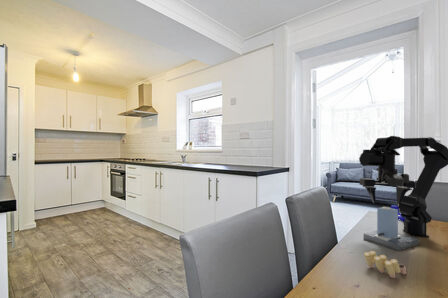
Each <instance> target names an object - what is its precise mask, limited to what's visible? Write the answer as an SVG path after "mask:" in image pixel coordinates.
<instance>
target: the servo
mask: <svg viewBox="0 0 448 298" xmlns="http://www.w3.org/2000/svg"><path fill="white" fill-rule="evenodd" d="M376 215H377V216H376V217H377V222H376V224H377V227H376V228H377V230H376V231H377V235H374V237H377V238H380V239H383V240H386V241H394V240H397V239H398V238H400V237H401V236H400V235H398V233H399V220H398V210H397V209H393V208H391V207H390V206H382V207H377V213H376Z"/></svg>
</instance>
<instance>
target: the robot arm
mask: <svg viewBox="0 0 448 298" xmlns="http://www.w3.org/2000/svg"><path fill="white" fill-rule="evenodd" d="M404 147H405V148H406V147H410V148H411V147H418V148H419V150H420V154H422V155H423V159H422V160H423V162H424V163H423V164H424V167H423V169H422V170H421V172H420V174H419V176H418V178H417V181H416V182H415V181H414V180H410V175H409V174H408V173H401V174H399V173H398V169H397V168H396V156H400V155H401V153H399V152H398V151H397V150H399V149H401V148H404ZM428 147H429V148H428ZM358 158H359V160H358V161H359V164H360V165H361V166H363V167H376V171H377V177H376V179H374V178H365V177H363V178H362V177H360V179H359V185H360V186H362V187H363V188H365V190H366V191H367V193H368V194H369V197H370V199H371V201H372V203H373V204H376V191H377V187H376V185H377V186H391V187H395V189H396V190H395V191H396V194H395V195H396V203H397V206H398V208H399V212H400V214H401V216H402V217H405V221H404V222H403V229H402V231H403V232H404V233H405V234H406V235H408V236H411V237H421V238H430V235H429V234H427V224H428V223H431V221H432V216H431V215H430V214H429V213H428V212H427V208H428V207H427V202H426V199H427V196H428V194H429V193H430V190H431V188H432V187H433V185H434V182H435V180H436V178H437V177H438V174H439V172H440V170H442V169H444V168H445V167H447V166H448V147H447V146H446V145H444V144H442V143H440V142H438V141H437V140H436V139H435V138H434V137H430V136H425V137H423V136H422V137H400V136H395V135H388V136H387V135H386V136H385V135H384V136H378V137H377V138H376V140H375V142H374V144H373V145H372V146H371V148H370V149H363V150H362V153H360V155H359V157H358ZM409 191H411V192H410V194H408V195H406V194H407V193H408V192H409Z"/></svg>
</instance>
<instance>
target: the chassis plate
mask: <svg viewBox="0 0 448 298" xmlns="http://www.w3.org/2000/svg"><path fill="white" fill-rule="evenodd" d="M374 235H377V230H373V231H369V232H364V233H363V240H366V241H369V242H370V243H371V242H372V243H374V244H378V245H379V246H380V245H381V246H382V247H386V248H388V249H391V250H394V251H398V252H400V251H402V250H405V249H406V250H407V249H408V248H411V247H414V246H418V245H419V244H420V239H419V238H417V237H415V236H411V235H408V234H403V233H400V232H398V235H400V236H401V237H400V238H398V239H397V240H394V241H386V240H383V239H380V238H377V237H374Z"/></svg>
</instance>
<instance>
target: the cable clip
mask: <svg viewBox="0 0 448 298" xmlns="http://www.w3.org/2000/svg"><path fill="white" fill-rule="evenodd" d="M398 206H399V205H390V208H393V209H397V210H398V215H400V216H398V219H400V220H401V221H400V220H399V221H400V222H402V221H403V222H402V223H404V221H405V217H402V216H401V213H400V210H399V208H398Z"/></svg>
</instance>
